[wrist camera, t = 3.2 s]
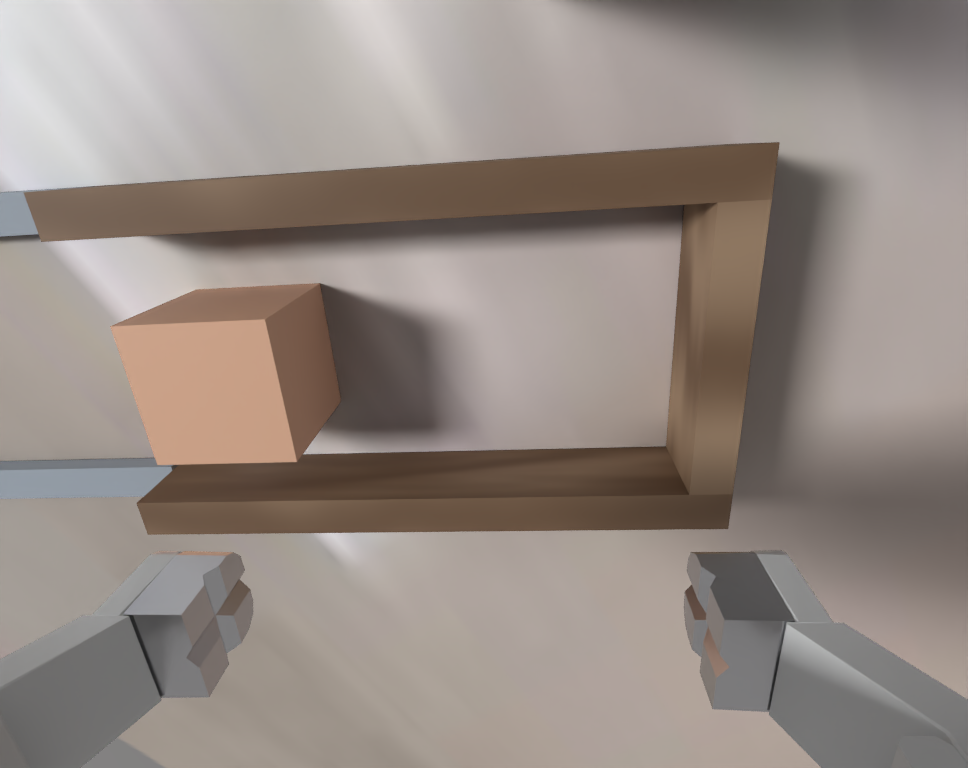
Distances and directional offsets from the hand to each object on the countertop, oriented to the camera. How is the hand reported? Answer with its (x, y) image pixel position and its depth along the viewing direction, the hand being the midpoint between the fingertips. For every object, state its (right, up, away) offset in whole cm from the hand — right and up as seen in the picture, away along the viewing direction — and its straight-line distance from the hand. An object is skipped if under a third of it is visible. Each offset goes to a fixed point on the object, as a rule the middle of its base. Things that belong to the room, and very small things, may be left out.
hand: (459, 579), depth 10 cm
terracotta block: (-8, +5, +12) cm, 16 cm away
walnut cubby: (-2, +5, +12) cm, 13 cm away
